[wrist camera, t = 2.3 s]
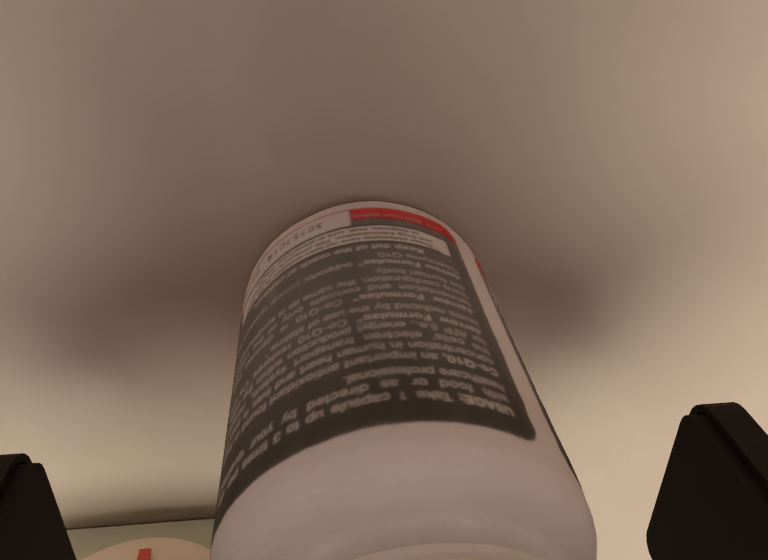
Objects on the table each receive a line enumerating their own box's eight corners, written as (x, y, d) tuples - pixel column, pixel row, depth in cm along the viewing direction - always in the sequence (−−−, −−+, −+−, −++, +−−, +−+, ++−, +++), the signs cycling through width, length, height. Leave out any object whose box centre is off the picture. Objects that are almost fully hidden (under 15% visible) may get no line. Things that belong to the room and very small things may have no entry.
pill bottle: (194, 308, 13) (51, 855, 6) (369, 142, 11) (475, 588, 4) (363, 426, 15) (416, 934, 8) (529, 299, 13) (779, 773, 6)
